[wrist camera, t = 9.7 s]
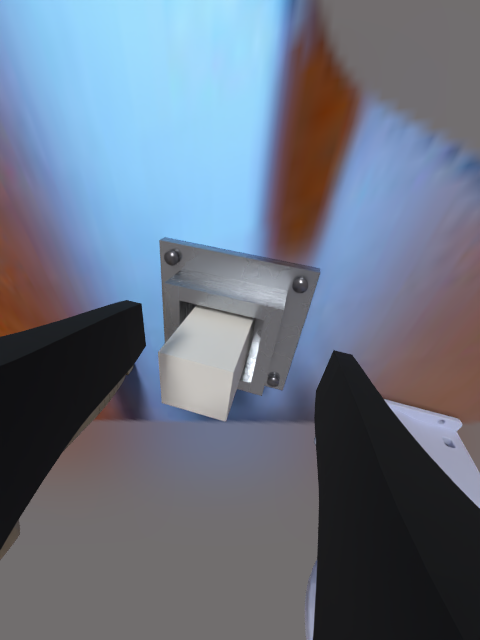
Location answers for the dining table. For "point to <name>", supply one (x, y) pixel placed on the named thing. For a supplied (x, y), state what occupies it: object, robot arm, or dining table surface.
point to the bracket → (241, 301)
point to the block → (205, 361)
